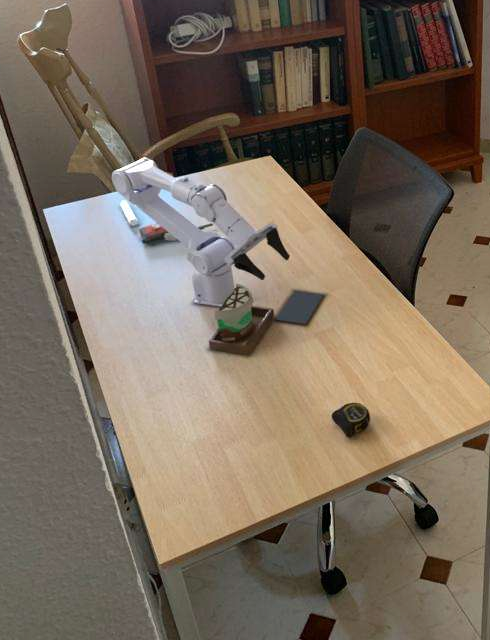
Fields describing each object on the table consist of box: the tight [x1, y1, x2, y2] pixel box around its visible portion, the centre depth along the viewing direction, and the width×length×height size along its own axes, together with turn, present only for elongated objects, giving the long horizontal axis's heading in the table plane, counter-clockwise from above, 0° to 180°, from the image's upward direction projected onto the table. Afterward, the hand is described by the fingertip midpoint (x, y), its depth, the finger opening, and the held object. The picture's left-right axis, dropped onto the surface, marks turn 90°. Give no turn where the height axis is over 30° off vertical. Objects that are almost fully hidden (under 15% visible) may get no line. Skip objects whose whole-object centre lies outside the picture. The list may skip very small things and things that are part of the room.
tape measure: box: [331, 402, 371, 439], centre depth 162 cm, size 7×7×4 cm
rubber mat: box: [274, 289, 325, 326], centre depth 198 cm, size 8×13×1 cm, turn 167°
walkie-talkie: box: [138, 222, 214, 245], centre depth 227 cm, size 9×4×20 cm
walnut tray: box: [208, 305, 276, 356], centre depth 188 cm, size 9×15×2 cm, turn 167°
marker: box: [119, 200, 139, 227], centre depth 238 cm, size 3×2×16 cm
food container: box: [214, 283, 254, 343], centre depth 186 cm, size 12×6×10 cm, turn 168°
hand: (276, 268), depth 184 cm, fingers open, 7 cm apart
